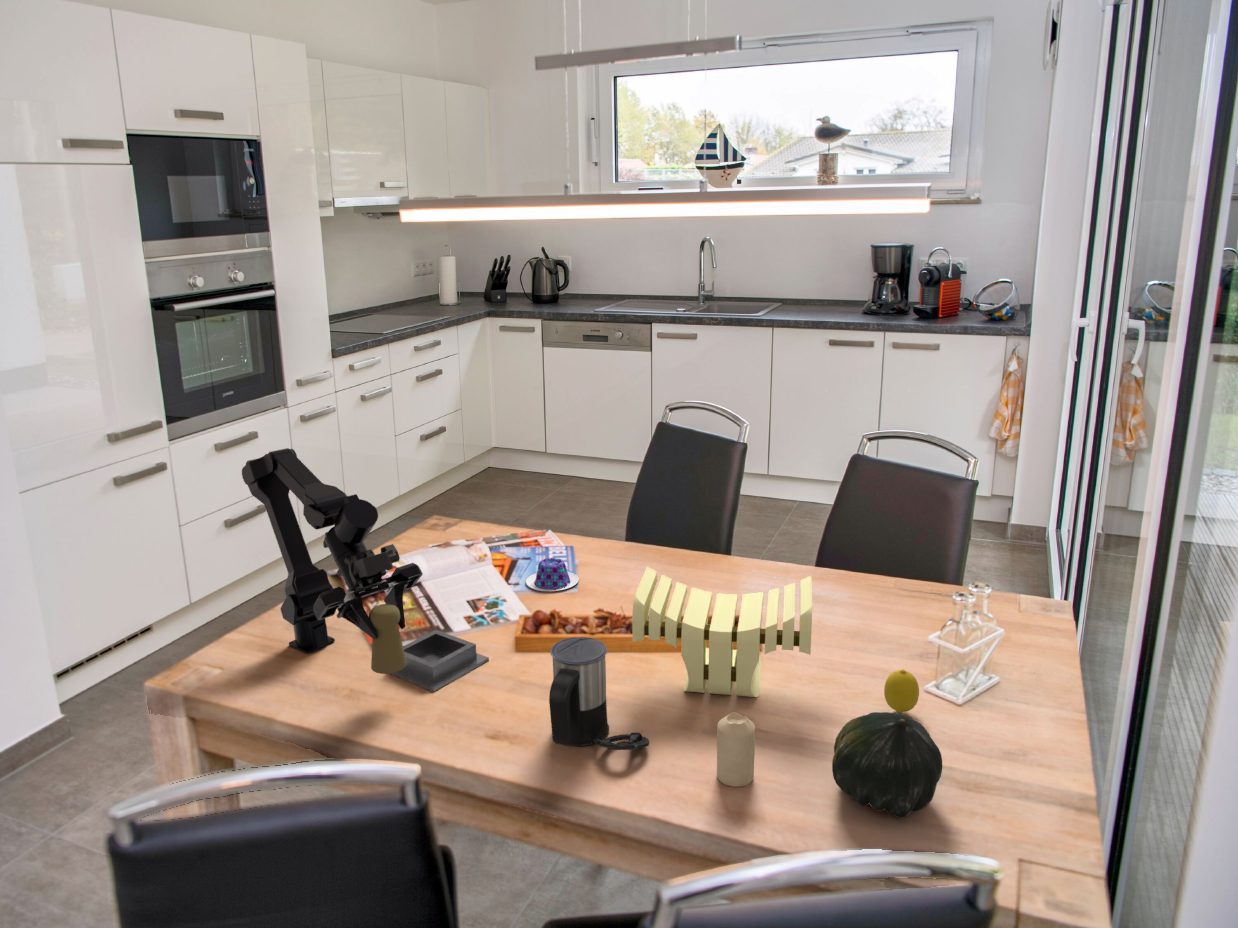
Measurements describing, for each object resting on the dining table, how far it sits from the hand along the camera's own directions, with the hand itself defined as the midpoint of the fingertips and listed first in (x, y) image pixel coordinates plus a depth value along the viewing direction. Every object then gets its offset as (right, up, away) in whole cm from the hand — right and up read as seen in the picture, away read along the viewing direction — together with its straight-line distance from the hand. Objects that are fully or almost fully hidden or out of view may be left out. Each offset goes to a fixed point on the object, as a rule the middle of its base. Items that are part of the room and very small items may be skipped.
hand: (390, 633), depth 155 cm
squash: (+77, -19, -24) cm, 83 cm away
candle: (+56, -18, -18) cm, 62 cm away
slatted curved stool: (+58, -10, +9) cm, 59 cm away
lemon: (+86, -13, -3) cm, 87 cm away
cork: (-1, -6, +3) cm, 7 cm away
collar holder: (+5, -9, +16) cm, 19 cm away
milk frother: (+36, -16, -8) cm, 40 cm away
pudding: (+24, +1, +53) cm, 58 cm away
